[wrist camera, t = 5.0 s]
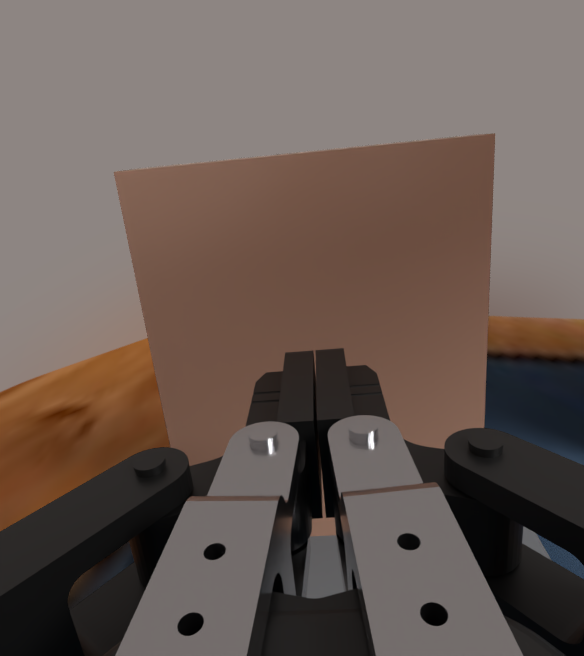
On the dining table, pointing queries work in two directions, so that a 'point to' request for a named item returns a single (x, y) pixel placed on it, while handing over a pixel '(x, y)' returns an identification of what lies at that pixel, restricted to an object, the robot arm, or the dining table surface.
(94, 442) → the dining table surface
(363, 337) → the tile
